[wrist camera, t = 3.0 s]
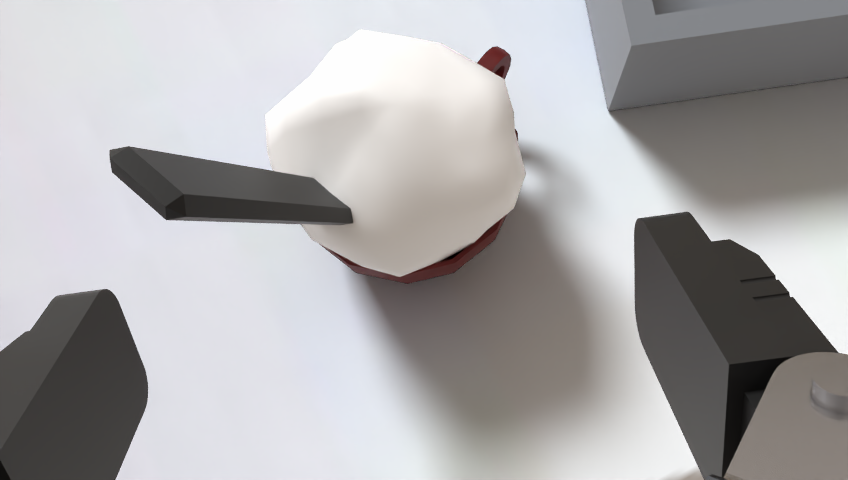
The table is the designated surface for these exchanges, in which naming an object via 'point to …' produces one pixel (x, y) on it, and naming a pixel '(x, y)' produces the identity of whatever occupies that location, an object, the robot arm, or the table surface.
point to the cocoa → (367, 160)
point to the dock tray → (714, 46)
